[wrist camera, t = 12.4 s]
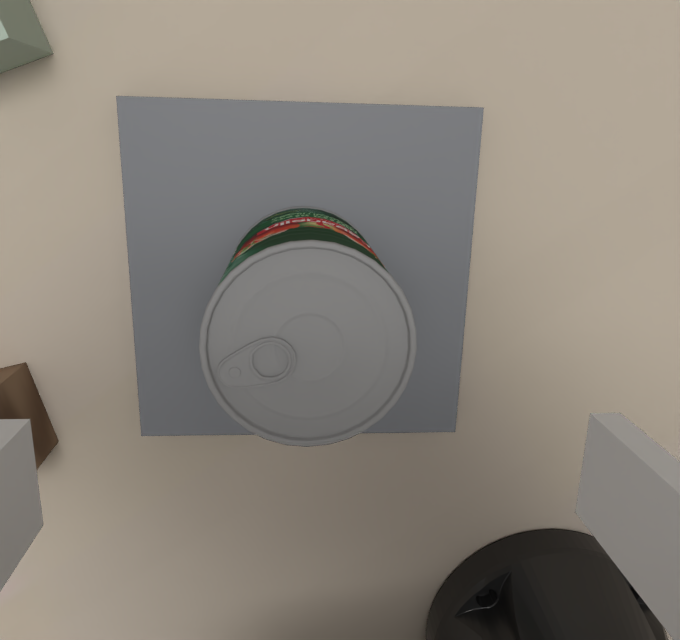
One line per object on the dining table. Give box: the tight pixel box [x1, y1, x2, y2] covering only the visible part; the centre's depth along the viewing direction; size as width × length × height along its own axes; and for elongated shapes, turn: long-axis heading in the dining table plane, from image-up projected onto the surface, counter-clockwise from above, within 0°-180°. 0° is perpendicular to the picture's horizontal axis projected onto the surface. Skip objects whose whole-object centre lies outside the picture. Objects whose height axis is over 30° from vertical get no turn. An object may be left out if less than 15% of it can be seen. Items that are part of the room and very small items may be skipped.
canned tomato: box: [199, 206, 417, 447], centre depth 27 cm, size 8×8×11 cm
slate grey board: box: [116, 96, 484, 436], centre depth 33 cm, size 18×18×1 cm
